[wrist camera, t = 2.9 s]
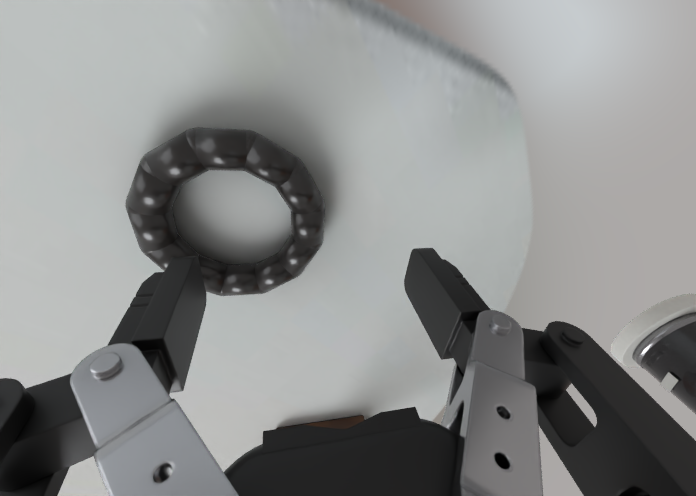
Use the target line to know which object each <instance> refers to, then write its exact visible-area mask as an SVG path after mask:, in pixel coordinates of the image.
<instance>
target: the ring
mask: <svg viewBox="0 0 696 496" xmlns="http://www.w3.org/2000/svg"><path fill="white" fill-rule="evenodd" d="M208 170H234V171H246V172H248V173H250V174H252V175H254V176H256V177H257V178H259V179H261V180H263V181H265V182H267V183H269V184H271V185H273V186H274V187H276V189H277V190H278V192H279V193H280V195H281V196H282V198H283V199H284V201H285V202H286V204H287V205H288V207H289V208H290V210H291V235H290V237H289V238H288V240H287V241H286V243H285V244H284V246H283V247H282V249H281V250H280V252H279V253H277V254H275V255H273V256H271V257H269V258H267V259H265V260H263V261H261V262H259V263H257V264H244V265H226V264H223V263H220V262H217V261H215V260H212V259H209V258H207V257H204V256H201V255H199V254H198V253H197V252H196V251H195V250H194V249H193V248H192V247H191V246H190V245H189V244H188V243H187V242H186V241H185V240H184V239H183V238H181V237H180V236H179V235H178V233H177V229H176V225H175V221H174V217H173V213H172V209H171V208H172V206H173V204H174V201H175V199H176V197H177V195H178V192H179V190H180V188H181V186H182V184H184V183H186V182H188V181H190V180H191V179H193V178H195V177H197V176H199V175H201V174H202V173H204V172H206V171H208ZM126 210H127V213H128V215H129V218H130V221H131V224H132V227H133V230H134V233H135V236H136V238H137V241H138V244H139V247H140V249H141V251H142V252H143V253H144V254H145V255H146V256H148V257H149V258H150V259H151V260H152V261H153V262H154V263H156V264H157V265H158V266H159V267H160V268H161V269H163V270H164V271H165V270H166V268H167V266H168V264H169V262H170V260H171V258H172V257H191V256H197V257H198V259H199V263H200V267H201V271H202V276H203V280H204V285H205V289H206V291H207V292H210V293H213V294H216V295H219V296H231V295H248V294H262V293H266V292H268V291H270V290H272V289H274V288H276V287H278V286H280V285H282V284H284V283H286V282H288V281H290V280H292V279H294V278H296V277H298V276H299V275H300V274H301V273H302V272H303V271H304V269H305V268H306V266H307V265H308V264H309V262H310V261H311V260H312V258H313V257H314V255H315V254H316V253H317V251H318V250H319V248H320V247H321V245H322V243H323V233H324V214H325V202H324V199H323V197H322V195H321V194H320V192H319V190H318V188H317V187H316V185H315V183H314V181H313V180H312V178H311V176H310V174H309V173H308V171H307V169H306V167H305V166H304V164H303V162H302V161H301V160H300V159H299V158H297V157H296V156H294V155H293V154H291V153H289V152H288V151H286V150H284V149H283V148H281V147H279V146H278V145H276V144H274V143H273V142H271V141H269V140H268V139H266V138H264V137H263V136H261V135H259V134H258V133H256V132H254V131H250V130H234V129H214V128H192V129H189V130H187V131H185V132H183V133H182V134H180V135H178V136H176V137H175V138H173V139H171V140H169V141H167V142H166V143H164V144H162V145H160V146H159V147H157V148H155V149H153V150H152V151H150V152H148V153H147V154H145V155H144V156H143V157H142V159H141V161H140V164H139V166H138V169H137V172H136V174H135V177H134V180H133V183H132V185H131V188H130V191H129V193H128V196H127V199H126Z"/></svg>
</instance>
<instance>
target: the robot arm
mask: <svg viewBox="0 0 696 496" xmlns="http://www.w3.org/2000/svg"><path fill="white" fill-rule="evenodd" d="M404 285H405V291H406V293H407V295H408V297H409V299H410V301H411V303H412V305H413V307H414V309H415V311H416V313H417V314H418V316H419V318H420V320H421V322H422V324H423V326H424V328H425V330H426V331H427V333H428V335H429V337H430V339H431V341H432V343H433V345H434V347H435V349H436V350H437V352H438V354H439V356H440V358H441V359H449V358H454V360H455V362H456V364H455V366H454V369H453V374H452V379H451V384H450V389H449V394H448V398H447V403H446V408H445V413H444V416H443V419H442V422H441V425H440V424H437V423H434V422H432V421H428V420H424V419H420V418H419V416H418V413H417V410H416V408H415V407H412V408H405V409H399V410H393V411H387V412H381V413H379V414H377V415H375V416H372V417H370V418H368V419H366V420H364V421H362V422H360V423H358V424H356V425H354V426H352V427H350V428H347V429H337V428H328V427H319V426H310V425H300V426H293V427H287V428H281V429H275V430H269V431H263V444H262V445H260V446H257V447H255V448H254V449H252V450H250V451H249V452H247V453H245V454H244V455H243V456H241V457H240V458H239V459H237V460H236V461H235V462H234V463H233V464H232V465H231V466H230V467H229V468H227V469H226V470H225V472H223V471H222V469H221V468H220V466H219V465H218V463H217V462H216V460H215V459H214V457H213V456H212V454H211V453H210V451H209V450H208V448H207V447H206V445H205V444H204V442H203V441H202V439H201V438H200V436H199V435H198V433H197V431H196V430H195V428H194V427H193V425H192V424H191V422H190V421H189V419H188V418H187V416H186V415H185V413H184V412H183V410H182V409H181V407H180V406H179V404H178V403H177V402H176V400H175V399H171V397H170V396H169V393H171V392H179V391H183V389H184V385H185V382H186V378H187V374H188V371H189V367H190V363H191V359H192V356H193V352H194V348H195V344H196V341H197V337H198V333H199V329H200V326H201V322H202V318H203V314H204V311H205V307H206V289H205V285H204V280H203V276H202V271H201V267H200V263H199V259H198V257H197V256H191V257H172V258H171V260H170V262H169V264H168V266H167V268H166V270H165V272H158V273H154V274H153V275H152V276H150V277H149V278H148V279H147V280H146V281H144V282H143V283H142V285H141V286H140V288H139V290H138V292H137V294H136V297H134V299H133V301H132V303H131V304H130V307H129V308H128V310H127V312H126V313H125V315H124V317H123V319H122V320H121V322H120V324H119V326H118V328H117V329H116V331H115V333H114V335H113V337H112V338H111V340H110V342H109V344H108V346H106V347H103V348H101V349H99V350H97V351H95V352H93V353H91V354H90V355H88V356H87V357H86V358H84V359H83V360H82V361H81V362H80V363H79V364H78V365H77V366H76V368H75V369H74V371H73V372H72V373H71V374H69V375H66V376H63V377H60V378H57V379H54V380H51V381H48V382H45V383H42V384H39V385H36V386H33V387H29V388H26V389H25V388H24V386H23V385H22V384H21V383H20V382H19V381H17V380H15V379H8V378H4V379H0V496H57V495H58V493H59V490H60V488H61V486H62V483H63V481H64V479H65V476H66V474H67V472H68V469H69V467H70V466H72V465H74V464H76V463H78V462H81V461H83V460H85V459H87V458H90V457H92V456H94V458H95V462H96V464H97V467H98V470H99V472H100V475H101V477H102V480H103V482H104V485H105V487H106V490H107V492H108V495H109V496H543V486H542V471H541V457H540V442H539V427H538V424H539V426H540V428H541V429H542V431H543V432H544V434H545V435H546V437H547V438H548V440H549V442H550V443H551V445H552V446H553V448H554V449H555V451H556V452H557V454H558V456H559V457H560V459H561V460H562V462H563V464H564V465H565V467H566V468H567V470H568V471H569V473H570V475H571V476H572V478H573V479H574V481H575V482H576V484H577V486H578V487H579V489H580V490H581V492H582V493H583V495H584V496H696V441H695V440H694V439H693V438H692V437H691V436H690V435H689V434H688V433H687V432H686V431H685V430H684V429H683V428H682V427H681V426H680V425H679V424H678V423H677V422H676V421H675V420H674V419H673V418H672V417H671V416H670V415H669V414H668V413H667V412H666V411H665V410H664V409H663V408H662V407H661V406H660V405H659V404H658V403H656V401H655V400H654V399H653V398H652V397H651V396H649V394H648V393H647V392H645V390H644V389H643V388H642V387H640V386H639V384H638V383H636V382H635V380H633V379H632V378H631V377H630V376H629V375H628V374H627V373H626V372H625V371H624V370H623V369H622V368H621V367H620V366H619V365H618V364H617V363H616V362H615V361H614V360H613V359H612V358H611V357H610V356H609V355H608V354H607V353H606V352H605V351H604V350H603V349H602V348H601V347H600V346H599V345H598V344H597V343H596V342H595V341H594V340H593V339H592V338H591V337H590V336H589V335H588V334H587V333H585V332H584V331H583V330H580V329H579V328H578V327H576V326H573V325H571V324H568V323H565V322H560V321H555V322H551V323H549V324H548V326H547V327H546V329H545V331H544V332H542V331H537V330H530V329H525V328H521V326H520V325H519V324H518V323H517V322H516V321H515V320H514V319H513V318H511V317H510V316H508V315H506V314H504V313H502V312H499V311H495V310H490V309H489V307H488V306H487V305H486V304H485V302H484V301H483V300H482V299H481V297H480V296H479V295H478V294H477V293H476V291H475V290H474V289H473V288H472V286H471V285H469V283H468V281H467V280H466V279H465V278H463V275H462V274H461V273H460V272H459V270H458V269H457V268H456V267H455V266H454V265H452V264H451V263H449V262H448V261H446V260H442V259H441V258H440V256H439V255H438V254H437V252H436V251H435V250H434V249H433V248H418V249H413V250H412V252H411V255H410V259H409V263H408V267H407V271H406V275H405V280H404ZM632 358H633V360H634V361H635V362H636V363H637V364H638V365H639V366H641V367H642V368H644V369H645V370H647V371H648V372H649V373H650V374H651V375H652V376H653V377H654V378H656V379H657V380H658V381H659V382H660V385H661V386H662V387H663V388H664V389H666V390H667V391H668V392H671V393H672V394H673V395H675V396H676V397H677V398H678V399H679V400H680V401H682V402H683V403H684V404H685V405H686V406H687V407H688V408H689V409H690V410H692V411H693V412H694V413H695V414H696V312H693V313H689V314H686V315H683V316H680V317H677V318H675V319H673V320H671V321H669V322H667V323H665V324H664V325H662V326H660V327H659V328H657V329H656V330H654V331H653V332H652V333H650V334H649V335H648V336H647V337H646V338H644V339H643V340H642V341H641V342H640V344H639V345H638V346H637V347H636V349H635V350H634V352H633V355H632ZM571 383H572V384H573V385H574V386H575V388H576V389H577V390H578V391H579V392H580V394H581V395H582V396H583V397H584V399H585V400H586V401H587V402H588V403H589V405H590V406H591V407H592V409H593V410H594V412H595V414H596V417H597V425H596V427H594V426H593V424H592V423H591V422H590V421H589V419H588V418H587V417H586V415H585V414H584V413H583V412H582V411H581V409H580V408H579V407H578V405H577V404H576V403H575V401H574V400H573V399H572V398H571V396H570V395H569V394H568V392H567V391H566V389H567V388H568V387H569V385H570V384H571Z"/></svg>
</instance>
